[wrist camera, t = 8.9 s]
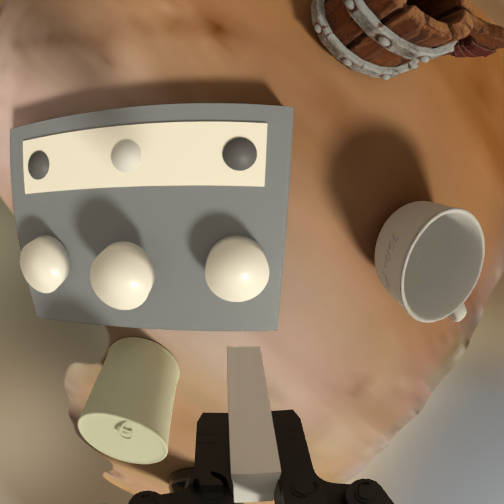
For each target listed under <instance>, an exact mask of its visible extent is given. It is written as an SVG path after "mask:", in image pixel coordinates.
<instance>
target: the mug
mask: <svg viewBox="0 0 504 504" xmlns="http://www.w3.org/2000/svg"><path fill="white" fill-rule="evenodd" d="M472 12H473V8H472V4H471V0H313V2H312V4H311V14H312V24H313V27H314V30H315V32H316V34H317V36H318V38H319V40H320V43H321V44H322V45H323V46H324V47H325V49H326V50H327V51H328V52H329V53H330V54H331V55H333V56H334V57H335V58H336V59H337V61H339V62H340V63H342V64H343V65H345V66H346V67H348V68H349V69H351V70H354V71H357V72H360V73H363V74H365V75H368V76H371V77H380V78H383V79H384V80H388V79H389V78H392V77H395V76H397V75H400V74H402V73H405V72H407V71H409V70H411V69H416V68H417V67H418V64H417V63H418V62H419V61H421V62H424V63H426V62H428V61H429V60H430V59H433V58H436V57H440V56H444V55H451V56H455V57H466V56H467V57H477V56H484V57H486V56H489V55H491V54H493V53H495V52H496V49H498V48H504V28H503V27H500V26H497V25H494V24H491V23H487V22H485V21H483V20H482V19H480V18H478V17H476V16H475V15H474V14H472Z"/></svg>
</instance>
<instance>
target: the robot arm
mask: <svg viewBox="0 0 504 504" xmlns="http://www.w3.org/2000/svg"><path fill="white" fill-rule="evenodd" d="M227 387H228V413H203V414H202V415H201V417H200V418H199V420H198V422H197V432H196V434H197V435H196V450H195V468H189V469H183V470H179V471H176V472H174V473H173V474H171V476H170V479H169V490H170V493H168V494H162V495H160V494H158V493H156V492H152V491H142V492H139V493H137V494H135V495H134V496H133V497H132V498H131V500H130V501H129V504H244V502H262V501H273V499H274V501H275V504H394V503H393V502H392V500H391V499H390V498H389V497H388V495H387V494H386V492H385V491H384V490H383V488H382V487H381V486H380V485H379V484H378V483H377V482H376V481H373V480H371V479H360V480H357V481H354V482H353V483H352V484H337V483H330V482H326V481H324V480H322V479H321V478H319V477H318V476H317V475H316V473H315V472H314V469H313V466H312V462H311V458H310V454H309V450H308V447H307V443H306V440H305V435H304V431H303V427H302V423H301V420H300V418H299V417H298V415H297V414H296V413H295V412H294V411H293V410H281V411H271V408H270V402H269V397H268V391H267V385H266V379H265V373H264V367H263V361H262V355H261V349H260V346H259V347H227ZM101 504H106V503H101Z"/></svg>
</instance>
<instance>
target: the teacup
mask: <svg viewBox="0 0 504 504" xmlns="http://www.w3.org/2000/svg"><path fill="white" fill-rule="evenodd" d="M484 251H485V248H484V236H483V232H482V229H481V226H480V224H479V222H478V221H477V219H476V218H475V217H474V216H473V215H472V214H471V213H470V212H468V211H467V210H464V209H461V208H453V207H450V206H446V205H442V204H439V203H434V202H428V201H416V202H412V203H409V204H406V205H404V206H402V207H400V208H399V209H398V210H396V211H395V212H394V213H393V214H392V215H391V216H390V217H389V218H388V219H387V221H386V222H385V224H384V225H383V227H382V229H381V231H380V233H379V236H378V239H377V242H376V247H375V267H376V271H377V274H378V277H379V279H380V281H381V283H382V285H383V286H384V288H385V289H386V290H387V291H388V292H389V294H390V295H391V296H392V297H393V298H394V299H395V300H396V301H397V302H398V303H400V304H401V305H402V306H403V307H404V308H405V310H406V311H407V312H408V313H409V315H410V316H412V317H413V318H415V319H416V320H418V321H421V322H435V321H439V320H441V319H443V318H445V317H447V316H448V317H449V318H450V319H452V320H453V321H455V322H459V321H461V320H462V319H463V318H464V317H465V315H466V307H465V305H464V302H465V300H466V299H467V298H468V296H469V295H470V293H471V292H472V290H473V289H474V287H475V285H476V283H477V281H478V279H479V276H480V273H481V269H482V265H483V260H484Z"/></svg>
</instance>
